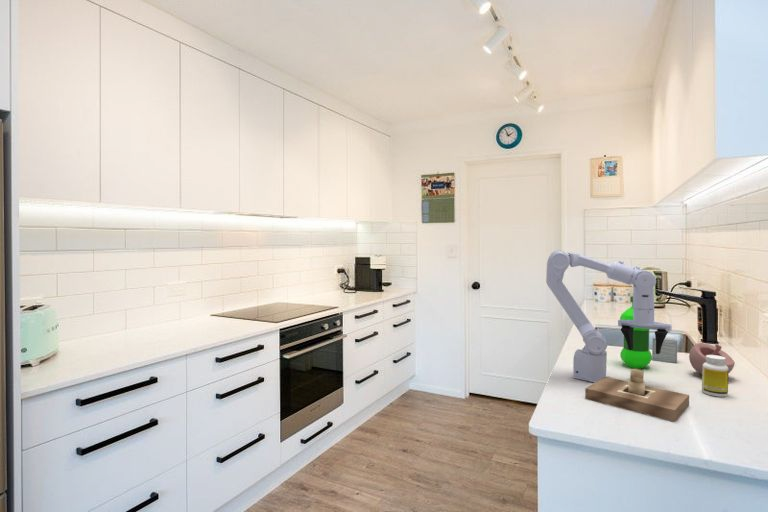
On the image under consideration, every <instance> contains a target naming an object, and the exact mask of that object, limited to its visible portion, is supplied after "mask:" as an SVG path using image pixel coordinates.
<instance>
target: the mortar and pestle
mask: <svg viewBox="0 0 768 512" xmlns="http://www.w3.org/2000/svg"><path fill="white" fill-rule="evenodd" d="M722 348H723V346H721V345H720V344H719V343H715V345H712V344H708V343H705V342H698V343H697V342H696V344H694V345H693V346H692V347H691V349H690V351H689V354H688V357H689V359H688V360H689V362H690V365H691V367H692V368H693V369H694V370H695V371H696V372H697V373H698V374H700V375H702V366H703V364H704V363H705V362H707V361H706V355H717V356H722V357H725V358H726V362H725V363H724V364H725V365H726V366H727V367H728V369H729V373H728V375H729V374H730V373H731V372H732V371H733V369H734V367H735V365H736V364H735V361H734V359H733V357H731V355H729V354H728V353H727V352H726V351H723V350H722Z"/></svg>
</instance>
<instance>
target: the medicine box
mask: <svg viewBox="0 0 768 512" xmlns="http://www.w3.org/2000/svg"><path fill="white" fill-rule="evenodd" d="M651 341H652V345H651V346H652V347H651V349H652V350H651V355H652V359H651V361H657V362H667V363H674V364H677V363H678V338H677V337H671V336H666V337H665V339H664V341H663V344H662V347H661V352H660V353H659V354H656V338H655V335H652V340H651Z"/></svg>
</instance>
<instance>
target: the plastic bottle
mask: <svg viewBox="0 0 768 512" xmlns="http://www.w3.org/2000/svg"><path fill="white" fill-rule="evenodd" d="M629 300H630V303H631V306H630V307H629V308H627V309H626V310H625V311H623V312H622V313H621V314H620V318H619V320H633V295H631V296H630V298H629ZM650 330H651V329H644V328H635V327H634V330H633V349H632V350H629V348H628V344H627V341H626V339H625V337H624V336H623V347H622V349H621V351H620V354H619V355H620V359H621V361H622V362H623V363H624V364H625V365H626V366H628V367H629V368H631V369H639V370H641V369H644V368H646V367H647V366H648V365H650V363H651V361H652V351H650Z"/></svg>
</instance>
